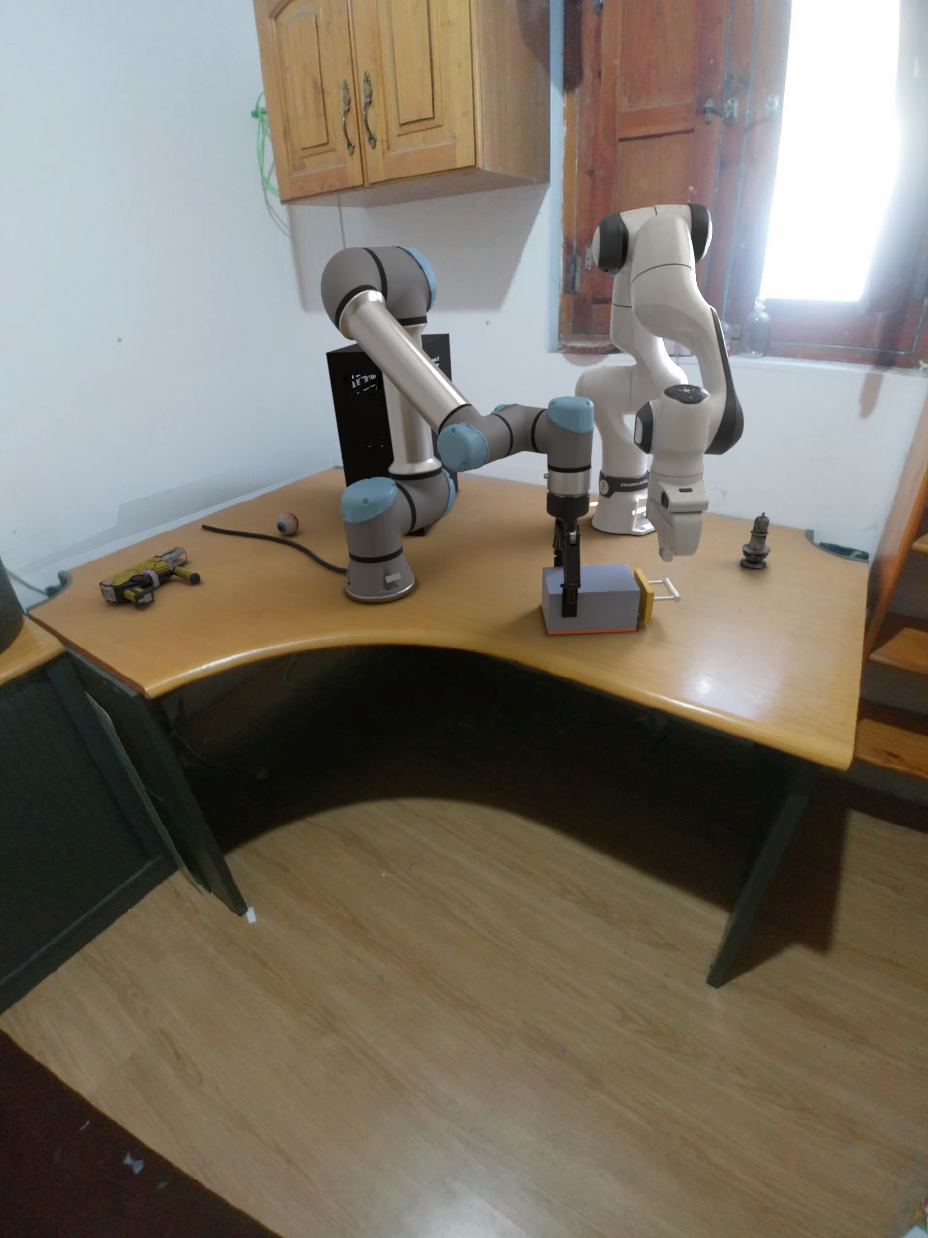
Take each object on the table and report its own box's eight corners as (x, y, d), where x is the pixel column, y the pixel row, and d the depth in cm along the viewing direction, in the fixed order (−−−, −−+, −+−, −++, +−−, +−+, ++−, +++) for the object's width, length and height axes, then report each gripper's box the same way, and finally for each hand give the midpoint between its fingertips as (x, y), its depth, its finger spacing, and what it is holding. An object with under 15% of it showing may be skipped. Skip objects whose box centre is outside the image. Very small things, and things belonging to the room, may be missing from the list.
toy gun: (223, 554, 147) (173, 544, 151) (148, 595, 127) (92, 582, 131) (226, 572, 149) (177, 561, 153) (152, 615, 129) (97, 601, 133)
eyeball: (273, 537, 164) (268, 516, 161) (287, 528, 169) (282, 508, 166) (291, 539, 161) (286, 518, 158) (305, 530, 166) (301, 510, 163)
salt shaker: (770, 569, 132) (782, 517, 126) (741, 568, 133) (751, 516, 127) (764, 558, 137) (775, 507, 131) (736, 557, 138) (746, 507, 132)
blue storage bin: (622, 602, 123) (626, 563, 119) (636, 630, 113) (640, 590, 109) (541, 605, 123) (542, 567, 119) (548, 634, 114) (549, 594, 109)
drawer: (664, 597, 122) (668, 567, 118) (680, 623, 113) (684, 591, 110) (561, 602, 122) (562, 572, 119) (569, 627, 113) (570, 596, 110)
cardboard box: (424, 535, 159) (408, 350, 137) (353, 532, 164) (325, 352, 141) (458, 489, 191) (449, 333, 168) (397, 488, 195) (380, 335, 173)
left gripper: (539, 472, 116) (538, 574, 127) (555, 516, 95) (552, 633, 106) (578, 470, 116) (574, 573, 126) (603, 513, 95) (595, 631, 106)
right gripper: (641, 469, 114) (634, 537, 121) (673, 506, 96) (663, 583, 103) (674, 467, 114) (666, 536, 121) (713, 504, 96) (700, 582, 103)
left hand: (564, 600), depth 116 cm, fingers closed on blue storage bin, 11 cm apart
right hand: (665, 558), depth 112 cm, fingers closed
